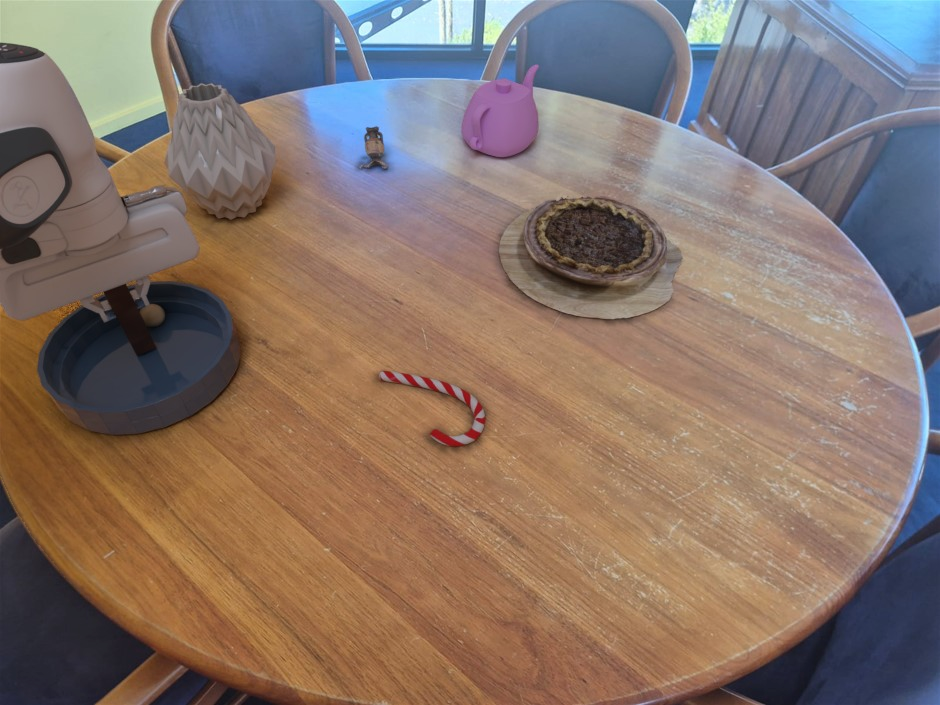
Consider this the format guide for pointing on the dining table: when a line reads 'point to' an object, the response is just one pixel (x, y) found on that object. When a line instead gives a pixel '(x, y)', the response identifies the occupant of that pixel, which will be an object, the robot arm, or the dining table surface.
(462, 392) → the candy cane
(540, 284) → the pie
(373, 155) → the vase
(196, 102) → the vase
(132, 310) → the stick
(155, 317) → the bead
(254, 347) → the dining table surface
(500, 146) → the teapot
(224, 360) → the bowl
